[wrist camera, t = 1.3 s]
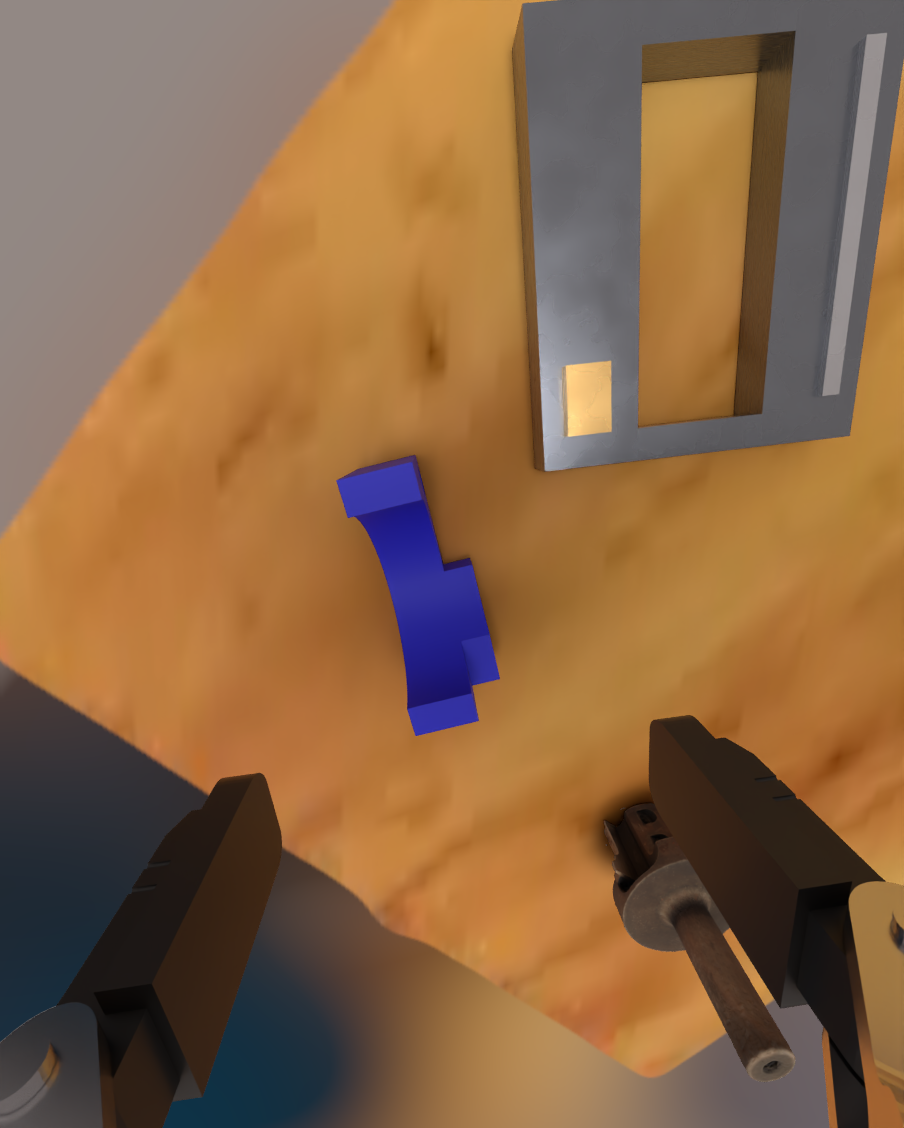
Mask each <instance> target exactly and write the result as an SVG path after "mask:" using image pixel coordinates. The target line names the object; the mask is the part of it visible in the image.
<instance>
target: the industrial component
mask: <svg viewBox="0 0 904 1128" xmlns="http://www.w3.org/2000/svg"><path fill="white" fill-rule="evenodd" d="M623 809H624V808H623ZM621 810H622V809H621ZM604 825H605V830H604V833H605V835H606V837H607V839H608V842H609V844H610V846H611V848H612V850H613V852H614V854H615V855H614V859H615V861H612V866H613V868H614V871H615V875H614V877H615V881H614V884H613V897H614V901H615V905H616V906H617V909H618V911H619V914H620V916H621V918H622V921H623V923H624V927H625V928H626V930H627V932H628V934H629V935H630V936H631V937H632V938H633V939H634V940H635V941H636V942H637V943H639V944H641V945H642V946H644V947H647V948H650V949H654V950H659V951H666V952H667V951H672V952H673V951H674V952H676V951H682V950H686V952H687V954H688V956H689V958H690V960H691V962H692V964H693V966H694V968H695V970H696V972H697V974H698V976H699V978H700V980H701V982H702V984H703V986H704V988H705V990H706V992H707V994H708V996H709V998H710V1000H711V1002H712V1004H713V1006H714V1008H715V1010H716V1011H717V1013H718V1016H719V1017H720V1020H721V1021H722V1024H723V1026H724V1028H725V1030H726V1032H727V1033H728V1035H729V1037H730V1039H731V1041H732V1043H733V1045H734V1047H735V1049H736V1051H737V1053H738V1056H739V1057H740V1059H741V1062H742V1064H743V1065H744V1067H745V1068H746V1070H747V1073H748V1074H749V1076H750V1077H751V1078H752V1079H754V1080H757V1081H760V1082H761V1081H762V1082H768V1081H772V1080H773V1081H774V1080H777V1079H780V1078H781V1077H784V1076H786V1075H787V1074H788V1073H789V1072H791V1070H792V1069H793V1067H794V1065H795V1057H794V1054H793V1053H792V1051H791V1049H790V1047H789V1045H788V1043H787V1041H786V1040H785V1039H784V1037H783V1035H782V1034H781V1032H780V1030H779V1029H778V1027H777V1025H776V1023H775V1022H774V1020H773V1018H772V1017H771V1015H770V1014H769V1012H768V1010H767V1009H766V1007H765V1005H764V1003H763V1002H762V1000H761V998H760V997H759V995H758V993H757V992H756V990H755V988H754V987H753V985H752V983H751V982H750V979H749V978H748V976H747V974H746V973H745V972H744V970H743V968H742V966H741V964H740V963H739V961H738V959H737V958H736V956H735V955H734V953H733V951H732V949H731V948H730V946H729V944H728V943H727V941H726V939H725V938H724V936H723V933H724V932H725V931H726V930H728V929H729V928H730V927H729V925H728V924H727V922H726V920H725V919H724V917H723V916H722V914H721V912H720V911H719V909H718V908H717V906H716V904H715V903H714V901H713V900H712V898H711V896H710V895H709V893H708V892H707V890H706V888H705V887H704V885H703V883H702V882H701V880H700V879H699V877H698V875H697V874H696V872H695V871H694V869H693V867H692V866H691V864H690V863H689V861H688V859H687V858H686V856H685V855H684V853H683V851H682V850H681V848H680V847H679V845H678V843H677V842H676V840H675V839H674V837H673V835H672V834H671V832H670V831H669V829H668V827H667V826H666V824H665V822H664V821H663V819H662V818H661V816H660V814H659V813H658V811H657V809H656V806H655V804H652V803H646V804H640V805H636V806H633V807H631V808H629V809H627V810H626V811H625V813H624V819H623V821H622V823H621V824H620V825H619V826H617V827H616V826H614V825H612V824H610V823H609V822H607V821H605V820H604ZM606 845H607V844H606Z"/></svg>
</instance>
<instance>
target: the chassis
mask: <svg viewBox="0 0 904 1128" xmlns="http://www.w3.org/2000/svg"><path fill="white" fill-rule="evenodd" d="M512 54H513V72H514V91H515V109H516V128H517V146H518V165H519V183H520V202H521V220H522V239H523V257H524V275H525V294H526V312H527V331H528V349H529V368H530V386H531V405H532V423H533V442H534V460H535V469H539V470H542V471H553V470H562V469H571V468H579V467H588V466H596V465H605V464H613V463H622V462H630V461H639V460H647V459H656V458H665V457H673V456H682V455H690V454H699V453H707V452H716V451H724V450H733V449H742V448H750V447H759V446H767V445H776V444H784V443H793V442H801V441H810V440H818V439H827V438H836V437H844V436H850V430H851V423H852V416H853V409H854V402H855V395H856V388H857V381H858V374H859V367H860V360H861V353H862V346H863V339H864V332H865V325H866V318H867V311H868V304H869V297H870V291H871V284H872V277H873V270H874V263H875V256H876V249H877V242H878V235H879V228H880V221H881V214H882V207H883V200H884V193H885V186H886V179H887V172H888V165H889V158H890V151H891V144H892V137H893V130H894V123H895V116H896V109H897V102H898V95H899V88H900V81H901V74H902V67H903V60H904V0H557V1H546V2H535V3H524V4H522V8H521V12H520V17H519V21H518V25H517V30H516V34H515V39H514V43H513V48H512ZM757 71H758V82H757V96H756V110H755V124H754V139H753V153H752V167H751V181H750V196H749V210H748V224H747V238H746V252H745V267H744V281H743V295H742V309H741V324H740V338H739V352H738V366H737V380H736V395H735V409H734V416H725V417H717V418H708V419H699V420H691V421H682V422H673V423H664V424H656V425H647V426H638V367H639V277H640V187H641V96H642V82H652V81H663V80H673V79H684V78H694V77H705V76H715V75H726V74H736V73H747V72H757Z"/></svg>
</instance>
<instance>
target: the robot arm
mask: <svg viewBox="0 0 904 1128" xmlns="http://www.w3.org/2000/svg"><path fill="white" fill-rule="evenodd" d="M649 786H650V791H651V795H652V799H653V801H654V804H655V806H656V809H657V811H658V813H659V814H660V816H661V818H662V819H663V821H664V822H665V824H666V826H667V827H668V829H669V831H670V832H671V834H672V835H673V837H674V839H675V840H676V842H677V843H678V845H679V847H680V848H681V850H682V851H683V853H684V855H685V856H686V858H687V859H688V861H689V863H690V864H691V866H692V867H693V869H694V871H695V872H696V874H697V875H698V877H699V879H700V880H701V882H702V883H703V885H704V887H705V888H706V890H707V892H708V893H709V895H710V896H711V898H712V900H713V901H714V903H715V904H716V906H717V908H718V909H719V911H720V912H721V914H722V916H723V917H724V919H725V920H726V922H727V924H728V925H729V927H730V928H731V930H732V932H733V933H734V935H735V936H736V938H737V940H738V941H739V943H740V944H741V946H742V948H743V949H744V951H745V953H746V954H747V956H748V957H749V959H750V961H751V962H752V964H753V965H754V967H755V969H756V970H757V972H758V973H759V975H760V977H761V978H762V980H763V981H764V983H765V985H766V986H767V988H768V989H769V991H770V993H771V994H772V996H773V997H774V999H775V1001H776V1002H777V1004H778V1005H779V1007H780V1008H787V1007H794V1006H800V1005H806V1004H808V1005H809V1006H810V1007H811V1009H812V1010H813V1012H814V1013H815V1015H816V1016H817V1018H818V1019H819V1021H820V1022H821V1024H822V1025H823V1032H822V1046H823V1058H824V1069H825V1080H826V1091H827V1102H828V1114H829V1125H830V1128H904V886H903V885H899V884H895V883H889V882H886V881H885V880H884V879H883V878H881V877H880V876H879V875H878V874H877V873H876V872H875V871H874V870H873V869H872V868H871V867H870V866H869V865H868V864H867V863H866V862H865V861H864V860H863V859H862V858H861V857H859V856H858V855H857V854H856V853H855V852H854V851H853V850H852V849H851V848H850V847H849V846H848V845H847V844H846V843H845V842H844V841H843V840H842V839H841V838H840V837H839V836H838V835H837V834H836V833H835V832H834V831H833V830H832V829H831V828H830V827H828V826H827V825H826V824H825V823H824V822H823V821H822V820H821V819H820V818H819V817H818V816H817V815H816V814H815V813H814V812H813V811H812V810H811V809H810V808H809V807H808V806H807V805H806V804H805V803H804V802H803V801H802V800H801V799H797V798H796V796H795V794H794V793H793V792H792V791H791V790H790V789H789V788H788V787H787V786H786V785H785V784H784V783H783V782H782V781H781V780H777V778H776V775H775V774H774V773H773V772H772V771H771V770H770V769H769V768H767V767H766V766H765V765H764V764H763V763H762V762H761V761H760V760H759V759H758V758H757V757H756V756H755V755H754V754H753V753H751V752H749V751H747V750H746V749H744V748H742V747H740V746H739V745H737V744H735V743H734V742H732V741H730V740H728V739H727V738H719V739H715V738H714V737H713V736H712V735H711V734H710V733H709V732H708V731H707V729H706V728H705V727H704V726H703V725H702V724H701V723H700V722H699V721H698V720H697V719H696V718H694V717H693V716H691V715H686V716H679V717H672V718H664V719H657V720H653V721H652V722H651V725H650V742H649ZM281 851H282V837H281V830H280V827H279V823H278V820H277V816H276V813H275V809H274V805H273V802H272V798H271V795H270V791H269V788H268V784H267V781H266V778H265V777H264V775H263V774H261V773H256V774H249V775H241V776H234V777H227V778H222V779H220V780H219V781H218V782H217V783H216V785H215V787H214V788H213V790H212V792H211V793H210V795H209V797H208V799H207V800H206V802H205V804H204V805H203V807H202V809H200V810H193V811H191V812H189V813H188V814H187V815H186V817H184V818H183V819H182V820H181V821H180V822H179V823H178V824H177V825H176V826H175V827H174V828H173V829H172V830H171V831H170V832H169V833H168V834H167V835H166V836H165V838H164V839H163V840H162V842H161V844H160V845H159V847H158V848H157V850H156V851H155V853H154V855H153V856H152V858H151V859H150V861H149V862H148V868H147V869H144V870H143V872H142V873H141V875H140V876H139V878H138V880H137V881H136V883H135V884H134V886H133V887H132V893H131V894H128V895H127V897H126V898H125V900H124V901H123V903H122V905H121V906H120V908H119V910H118V911H117V913H116V914H115V916H114V917H113V919H112V920H111V922H110V924H109V925H108V927H107V928H106V930H105V931H104V933H103V934H102V936H101V938H100V939H99V941H98V942H97V944H96V946H95V947H94V949H93V950H92V952H91V953H90V955H89V956H88V958H87V960H86V961H85V963H84V964H83V966H82V967H81V969H80V970H79V972H78V973H77V975H76V977H75V978H74V980H73V981H72V983H71V984H70V986H69V988H68V989H67V991H66V993H65V994H64V995H63V997H62V998H61V1000H60V1001H59V1003H58V1004H57V1005H56V1007H53V1008H50V1009H48V1010H46V1011H44V1012H42V1013H40V1014H39V1015H37V1016H35V1017H33V1018H32V1019H30V1020H28V1021H27V1022H25V1023H24V1024H23V1025H22V1026H20V1027H19V1028H17V1029H16V1030H14V1031H13V1032H12V1033H11V1034H10V1035H9V1036H7V1037H6V1038H5V1039H4V1040H3V1041H2V1042H0V1128H162V1127H163V1125H164V1122H165V1119H166V1117H167V1114H168V1111H169V1108H170V1106H171V1103H172V1102H173V1101H179V1100H185V1099H192V1098H198V1097H203V1094H204V1091H205V1088H206V1085H207V1082H208V1079H209V1076H210V1073H211V1070H212V1067H213V1063H214V1061H215V1057H216V1055H217V1052H218V1049H219V1046H220V1043H221V1040H222V1037H223V1033H224V1031H225V1027H226V1025H227V1022H228V1018H229V1015H230V1012H231V1009H232V1006H233V1003H234V1000H235V997H236V994H237V991H238V988H239V985H240V982H241V979H242V976H243V973H244V970H245V967H246V964H247V961H248V958H249V955H250V952H251V949H252V946H253V943H254V940H255V937H256V934H257V931H258V928H259V925H260V922H261V919H262V916H263V913H264V910H265V907H266V904H267V901H268V897H269V895H270V892H271V889H272V886H273V883H274V880H275V877H276V873H277V871H278V867H279V863H280V858H281Z"/></svg>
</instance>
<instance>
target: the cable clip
mask: <svg viewBox="0 0 904 1128" xmlns="http://www.w3.org/2000/svg"><path fill="white" fill-rule="evenodd" d="M336 481H337V484H338V487H339V491H340V494H341V497H342V500H343V503H344V507H345V510H346V513H347V516H348V518H350V517H356V518H357V519H358V520H359V521H360V522H361V523H362V524H363V526H364V527H365V529H366V531H367V532H368V534H369V536H370V538H371V540H372V542H373V544H374V547H375V549H376V551H377V554H378V556H379V559H380V562H381V565H382V567H383V570H384V573H385V576H386V580H387V583H388V586H389V590H390V593H391V597H392V601H393V605H394V608H395V613H396V617H397V621H398V626H399V631H400V636H401V642H402V647H403V654H404V661H405V668H406V678H407V698H408V703H407V710H408V713H409V716H410V719H411V723H412V726H413V729H414V732H415V735H416V736H418V735H422V734H426V733H430V732H435V731H439V730H443V729H447V728H451V727H455V726H460V725H464V724H468V723H472V722H476V721H479V719H478V714H477V708H476V703H475V698H474V692H473V687H472V685H477V684H481V683H485V682H489V681H493V680H497V679H500V677H499V673H498V668H497V664H496V660H495V655H494V651H493V647H492V643H491V638H490V634H489V630H488V626H487V623H486V619H485V615H484V611H483V607H482V603H481V599H480V595H479V591H478V587H477V582H476V578H475V574H474V570H473V566H472V563H471V560H470V558H467V559H463V560H459V561H455V562H451V563H447V564H443V561H442V558H441V554H440V550H439V546H438V542H437V538H436V534H435V530H434V526H433V522H432V518H431V514H430V510H429V506H428V503H427V499H426V495H425V491H424V487H423V483H422V479H421V475H420V471H419V467H418V463H417V459H416V455H413V456H409V457H405V458H401V459H397V460H393V461H389V462H385V463H381V464H377V465H373V466H368V467H364V468H360V469H357V470H355V471H354V472H352V473H350V474H348V475H346V476H344V477H342V478H340V479H338V480H336Z"/></svg>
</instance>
